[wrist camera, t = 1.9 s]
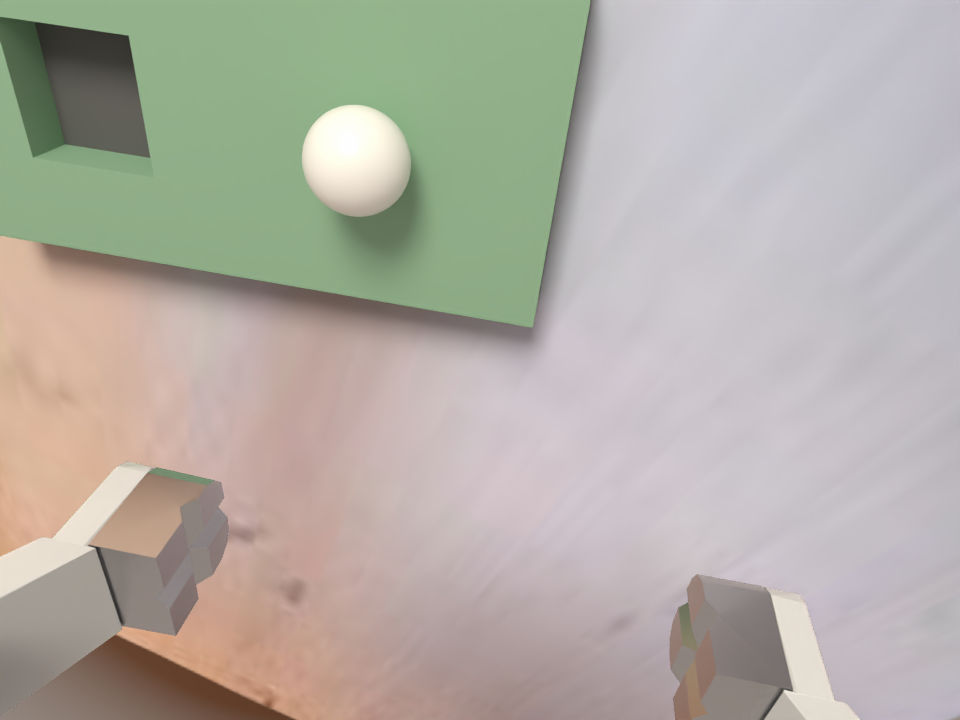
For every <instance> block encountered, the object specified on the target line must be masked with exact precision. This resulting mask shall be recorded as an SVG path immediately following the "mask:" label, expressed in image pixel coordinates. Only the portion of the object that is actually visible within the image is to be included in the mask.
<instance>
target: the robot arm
mask: <svg viewBox="0 0 960 720" xmlns="http://www.w3.org/2000/svg"><path fill="white" fill-rule="evenodd" d="M223 499H224V493H223V489H222V484H221V482H218V481H215V480H211V479H206V478H202V477H197V476H193V475H188V474H184V473H179V472H175V471H171V470H166V469H162V468H156V467H151V466H147V465H142V464H137V463H133V462H128V461H127V462H125V463H123V464H121V465H119V466H117V467H116V468H115V469H114V470H113V471H112V472H111V473H110V474H109V475H108V477H107V478H106V479H105V480H104V481H103V482H102V483H101V484H100V485H99V487H98V488H97V489H96V490H95V491H94V492H93V493H92V494H91V495H90V497H89V498H88V499H87V500H86V501H85V502H84V503H83V504H82V505H81V507H80V508H79V509H78V510H77V511H76V512H75V513H74V514H73V516H72V517H71V518H70V519H69V520H68V521H67V522H66V523H65V524H64V526H63V527H62V528H61V529H60V530H59V531H58V532H57V533H56V534H55V536H54V537H53V538H46V537H41V538H39V539H37V540H35V541H33V542H31V543H28V544H26V545H24V546H22V547H20V548H18V549H16V550H14V551H11V552H9V553H7V554H5V555H3V556H1V557H0V717H1V716H2V715H4V714H5V713H6V712H8V711H9V710H11V709H12V708H13V707H15V706H16V705H18V704H19V703H20V702H22V701H23V700H24V699H26V698H27V697H29V696H30V695H32V694H33V693H34V692H36V691H37V690H38V689H40V688H41V687H43V686H44V685H45V684H47V683H48V682H50V681H51V680H52V679H54V678H55V677H57V676H58V675H59V674H61V673H62V672H63V671H65V670H66V669H68V668H69V667H71V666H72V665H73V664H75V663H76V662H77V661H79V660H80V659H82V658H83V657H84V656H86V655H87V654H89V653H90V652H91V651H93V650H94V649H96V648H97V647H98V646H100V645H101V644H103V643H104V642H105V641H106V640H108V639H109V638H111V637H112V636H114V635H115V634H116V633H118V632H119V631H121V630H122V626H125V627H131V628H136V629H142V630H147V631H153V632H158V633H163V634H169V635H174V636H176V635H177V633H178V632H179V630H180V629H181V627H182V625H183V624H184V622H185V620H186V619H187V617H188V615H189V614H190V612H191V610H192V609H193V607H194V605H195V604H196V602H197V600H198V599H199V598H198V593H197V587H196V584H198V583H200V582H201V581H203V580H205V579H206V578H208V577H210V576H212V575H213V574H214V572H215V570H216V568H217V567H218V565H219V563H220V561H221V560H222V557H223V554H224V551H225V548H226V545H227V542H228V532H229V525H228V518H227V516H226V515H225V514H224V513H223V512H222V511H221V509H220V508H219V507H218V506H219V505H220V503H221V502H222V500H223ZM687 595H688V603H686V604H684V605H682V606H680V607H679V608H678V610H677V613H676V615H675V618H674V620H673V624H672V630H671V635H670V666H671V671H672V672H673V673H674V675H675V676H676V678H677V679H678V680H679V682H680V683H681V684H680V686H679V688H678V690H677V692H676V694H675V696H674V698H673V701H674V711H675V720H861V719H860V718H859V717H858V716H857V715H856V714H855V713H854V711H853V710H852V709H851V708H850V707H849V706H848V705H847V704H846V703H844V702H840V701H836V700H835V698H834V695H833V692H832V688H831V685H830V682H829V678H828V675H827V672H826V669H825V665H824V662H823V659H822V655H821V652H820V649H819V645H818V642H817V639H816V636H815V632H814V629H813V626H812V622H811V619H810V616H809V612H808V609H807V606H806V603H805V600H804V599H803V598H802V596H801V595H800V594H796V593H791V592H786V591H781V590H776V589H771V588H766V587H765V588H763V587H762V586H758V585H753V584H747V583H742V582H736V581H731V580H725V579H720V578H714V577H709V576H704V575H698V574H697V575H696V576H694V577H693V578H692V580H691V582H690V584H689V586H688V588H687Z"/></svg>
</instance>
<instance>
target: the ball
mask: <svg viewBox="0 0 960 720" xmlns="http://www.w3.org/2000/svg"><path fill="white" fill-rule="evenodd" d="M302 167H303V171H304V175H305V178H306V181H307V183H308V185H309V187H310V189H311V190H312V192H313V193H314V194H315V196H316V197H317V198H318V199H319V200H320V201H321V202H322V203H323V204H325V205H326V206H327V207H329V208H330V209H332V210H334V211H336V212H338V213H341V214H344V215H348V216H354V217H365V216H371V215H375V214H378V213H380V212H382V211H384V210H386V209H387V208H389V207H390V206H392V205H393V204H394V203H395V202H396V201H397V200H398V199H399V197H400V196H401V195H402V193H403V192H404V190H405V188H406V186H407V183H408V181H409V177H410V171H411V156H410V150H409V147H408V144H407V141H406V139H405V137H404V135H403V133H402V131H401V130H400V129H399V127H398V126H397V125H396V124H395V123H394V121H392V120H391V119H390V118H389V117H388V116H386V115H385V114H383V113H382V112H380V111H378V110H376V109H373V108H371V107H368V106H363V105H344V106H340V107H337V108H334V109H332V110H330V111H328V112H326V113H324V114H323V115H322V116H321V117H319V118H318V119H317V120H316V122H315V123H314V124H313V125H312V127H311V128H310V130H309V131H308V133H307V136H306V138H305V141H304V144H303V150H302Z"/></svg>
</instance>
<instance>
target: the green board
mask: <svg viewBox="0 0 960 720" xmlns="http://www.w3.org/2000/svg"><path fill="white" fill-rule="evenodd" d="M590 2H591V0H0V236H6V237H11V238H17V239H23V240H29V241H34V242H40V243H46V244H52V245H58V246H63V247H69V248H75V249H81V250H86V251H92V252H98V253H104V254H110V255H115V256H121V257H127V258H133V259H138V260H144V261H150V262H156V263H162V264H167V265H173V266H179V267H185V268H190V269H196V270H202V271H208V272H213V273H219V274H225V275H231V276H237V277H242V278H248V279H254V280H260V281H265V282H271V283H277V284H283V285H289V286H294V287H300V288H306V289H312V290H317V291H323V292H329V293H335V294H341V295H346V296H352V297H358V298H364V299H369V300H375V301H381V302H387V303H392V304H398V305H404V306H410V307H416V308H421V309H427V310H433V311H439V312H444V313H450V314H456V315H462V316H468V317H473V318H479V319H485V320H491V321H496V322H502V323H508V324H514V325H520V326H525V327H531V328H533V324H534V319H535V313H536V308H537V302H538V296H539V291H540V285H541V279H542V274H543V268H544V262H545V257H546V251H547V245H548V240H549V234H550V228H551V223H552V217H553V211H554V206H555V200H556V194H557V189H558V183H559V177H560V172H561V166H562V161H563V155H564V149H565V144H566V138H567V132H568V127H569V121H570V115H571V110H572V104H573V98H574V93H575V87H576V81H577V76H578V70H579V64H580V59H581V53H582V47H583V42H584V36H585V30H586V25H587V19H588V13H589V8H590ZM344 105H363V106H368V107H371V108H373V109H376V110H378V111H380V112H382V113H383V114H385V115H386V116H388V117H389V118H390V119H391V120H392V121H394V123H395V124H396V125H397V126H398V127H399V129H400V130H401V131H402V133H403V135H404V137H405V139H406V141H407V144H408V147H409V150H410V156H411V171H410V177H409V181H408V183H407V186H406V188H405V190H404V192H403V193H402V195H401V196H400V197H399V199H398V200H397V201H396V202H395V203H394V204H393V205H392V206H390V207H389V208H387V209H386V210H384V211H382V212H380V213H378V214H375V215H371V216H365V217H354V216H348V215H344V214H341V213H338V212H336V211H334V210H332V209H330V208H329V207H327V206H326V205H325V204H323V203H322V202H321V201H320V200H319V199H318V198H317V197H316V196H315V194H314V193H313V192H312V190H311V189H310V187H309V185H308V183H307V181H306V178H305V175H304V171H303V167H302V150H303V144H304V141H305V138H306V136H307V133H308V131H309V130H310V128H311V127H312V125H313V124H314V123H315V122H316V120H317V119H318V118H319V117H321V116H322V115H323V114H324V113H326V112H328V111H330V110H332V109H334V108H337V107H340V106H344Z"/></svg>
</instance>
